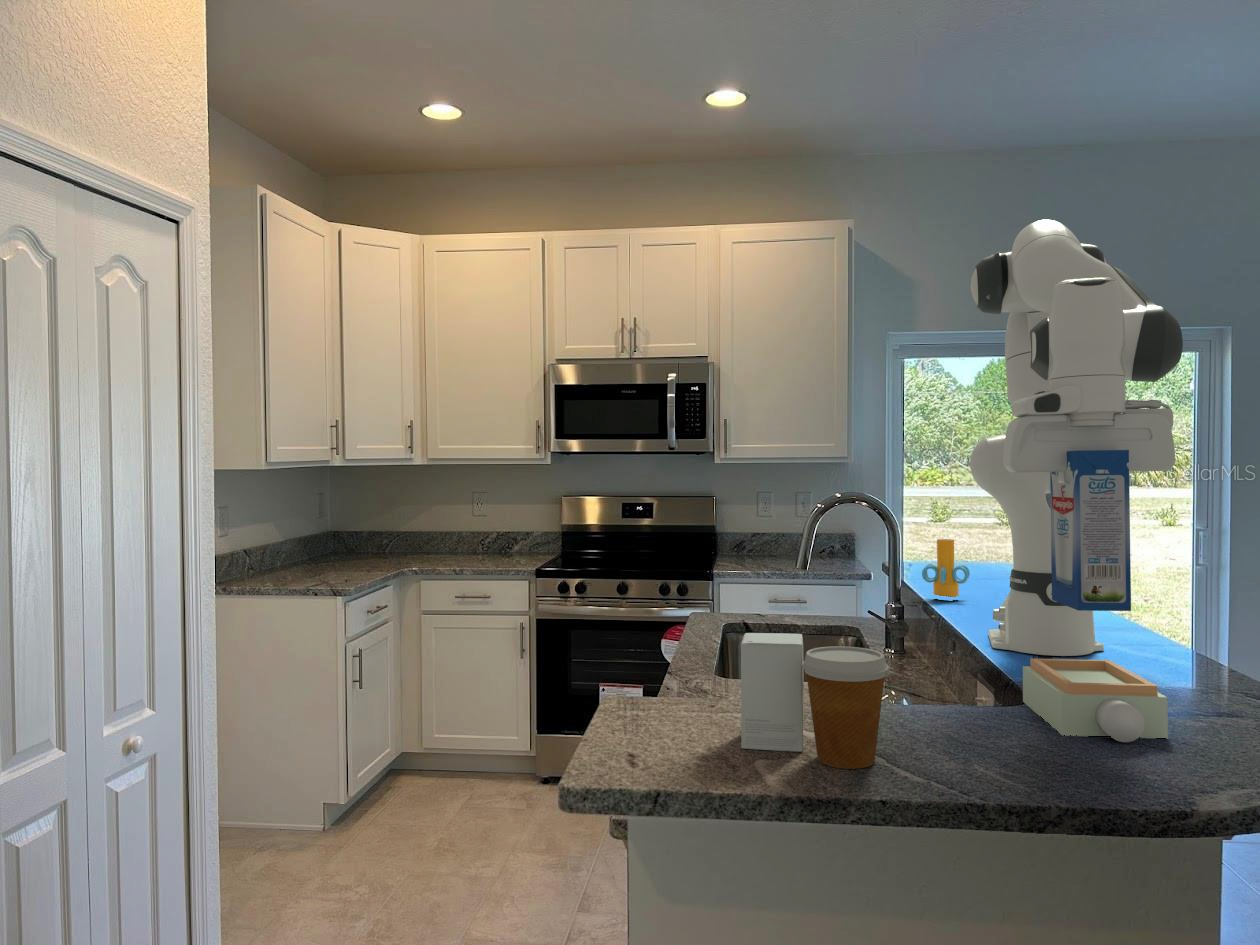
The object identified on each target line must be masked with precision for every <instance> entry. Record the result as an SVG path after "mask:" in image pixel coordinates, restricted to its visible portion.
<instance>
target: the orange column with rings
mask: <svg viewBox="0 0 1260 945" xmlns="http://www.w3.org/2000/svg"><path fill="white" fill-rule="evenodd" d="M930 569H932V570H933V571H934V577H931V576H929V573H928V570H930ZM959 570H961V571H962V572H963V574H964V577H963V578H959V577H958V576H957V571H959ZM970 574H971V573H970V569H969V567H967V566H966V565H964V564H958V565H957V566H955V540H954V539H950V538H939V539H938V538H937V539H936V564H934V563H928V564H926V566H924V567H923V569H922V572H921V577H922V579H923V580H924V582H927V583H932V587H933V589H932V592H933V593H932V594H935V595H939V596H946V597H947V596H948V597H956V596H959V597H960V592H959V591H960V590H959V589H960V585H961V584H965V583H966V582H967V581H968V579H969V577H970ZM959 584H960V585H959Z"/></svg>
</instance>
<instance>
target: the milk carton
mask: <svg viewBox="0 0 1260 945" xmlns="http://www.w3.org/2000/svg"><path fill="white" fill-rule="evenodd" d="M1049 494H1050V509H1051V565H1052V600H1054V601H1056V602H1058V603H1061V604H1063V605H1066V606H1068V607H1071V608H1073V609H1075V610H1078V611H1093V612H1098V611H1099V612H1100V611H1101V612H1103V611H1104V612H1132V587H1131V586H1132V584H1131V582H1132V578H1131V577H1132V576H1131V575H1132V574H1131V573H1132V572H1131V567H1132V566H1131V515H1130V514H1131V512H1130V511H1131V509H1130V508H1131V506H1130V505H1131V504H1130V502H1131V501H1130V500H1131V499H1130V496H1131V495H1130V471H1129V450H1085V451H1067V471H1066V472H1065V483H1059V481H1058V472H1050V493H1049Z"/></svg>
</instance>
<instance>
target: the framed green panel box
mask: <svg viewBox="0 0 1260 945" xmlns="http://www.w3.org/2000/svg"><path fill="white" fill-rule="evenodd" d="M1158 690H1159V689H1158V685H1156V684H1154V683H1153V682H1151V681H1149V680H1147V679H1145V678H1143V677H1142V676H1140V675H1138V674H1136V673H1134V672H1133V671H1130V670H1129V669H1126V668H1124V667H1123V666H1121V665H1119V664H1117V663H1116V662H1114V661H1112V660H1109V659H1081V658H1080V659H1079V658H1078V659H1073V658H1071V659H1070V658H1067V659H1066V658H1030V665H1028V666H1027V665H1026V666H1025V665H1022V702H1023V703H1024V704H1025V705H1026V706H1027V707H1028V708H1030V709H1031V710H1032V712H1034V713H1035V714H1037V716H1039V717H1040V716H1041V717H1042V718H1043V719H1044V720H1043V719H1042V718H1041V717H1040V718H1041V719H1042V720H1043V721H1045V722H1046V723H1047V722H1048V723H1049V724H1050V725H1051V726H1050V725H1049V724H1048V723H1047V724H1048V725H1049V726H1050V727H1052V729H1054V728H1055V729H1056V730H1057V731H1058V732H1057V731H1056V730H1055V729H1054V730H1055V731H1056V732H1057V733H1058V734H1060V735H1061V736H1062V737H1088V736H1111V737H1110V738H1112V739H1114V740H1115V741H1117V742H1120V743H1131V742H1134V741H1136V740H1137V739H1156V738H1166V739H1165V740H1168V739H1169V738H1168V737H1169V734H1168V733H1169V729H1168V728H1169V725H1168V722H1169V721H1168V719H1169V717H1168V710H1169V709H1168V696H1166V695H1164V694H1162V693H1161V692H1159V691H1158ZM1064 735H1065V736H1064ZM1070 735H1071V736H1070ZM1076 735H1077V736H1076ZM1139 737H1140V738H1139Z"/></svg>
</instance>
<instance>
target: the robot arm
mask: <svg viewBox="0 0 1260 945" xmlns="http://www.w3.org/2000/svg"><path fill="white" fill-rule="evenodd" d="M970 292H971V295H972V299H973V300H974V303H975V304H976V306H977V309H978V310H979V311H980V312H982V313H985V314H990V315H1001V313H1009V315H1008V317H1007V322H1006V327H1005V328H1006V329H1005V337H1004V338H1005V340H1004V358H1005V376H1006V377H1005V379H1006V387H1007V388H1006V389H1007V399H1008V401H1009V403H1010V405H1011V414H1012V416H1014V417H1015V418H1014V419H1012V420H1011V421H1010V422H1009V423H1008V426H1007V428H1006V431H1005V433H1002V434H1001V433H1000V434H996V435H991V436H987V437H983V438H982V439H980V440H979V441H978V442H977V443H976V445H975V446H974V448H973V450H972V452H971V456H970V462H969V466H970V467H969V468H970V472H971V475H972V478H973V480H974V482H976V484H977V485H978V486H979V487H980V488H981V489H982V490H983V491H985V492H987V494H988V495H990V496H992V497H993V499H995V501H997V503H998V504H999V506H1000V507H1001V508H1002V510H1003V512H1004V513H1005V516H1006V518H1007V520H1008V524H1009V527H1010V533H1011V541H1012V542H1011V543H1012V556H1013V557H1012V558H1013V559H1012V560H1013V561H1012V562H1013V565H1012V566H1013V568H1011V570H1010V576H1009V586H1008V587H1009V588H1010V590H1009V592H1008V594H1007V596H1006V598H1005V599H1004V601H1003V603H1002V604H1001V606H999V607H998V608H994V609H992V621H994V622H998V628H993V629H988V634H989V635H988V638H989V642H990V645H991V647H992V648H993V649H997V650H1004V651H1005V650H1008V651H1013V652H1018V653H1023V654H1025V653H1026V654H1031V655H1040V656H1057V657H1059V656H1061V657H1069V656H1070V657H1073V656H1075V657H1076V656H1085V655H1089V654H1092V653H1094V652H1100V651H1104V650H1105V648H1104V647H1105V646H1104V644H1103V643H1101V642H1098V641H1096V631H1095V618H1094V611H1078V610H1075V609H1073V608H1071V607H1068V606H1066V605H1063V604H1061V603H1058V602H1056V601H1054V600H1052V565H1051V507H1050V506H1049V504H1048V502H1047V496H1046V494H1051V493H1050V472H1058V481H1059V483H1065V472H1066V471H1067V451H1085V450H1129V472H1168V471H1171V469H1172V468H1173V467H1174V466H1175V465H1176V450H1175V441H1174V436H1173V435H1174V434H1173V431H1172V430H1173V428H1174V411H1173V410H1172V408H1171V406H1169V405H1168V404H1166V403H1163V402H1162V401H1161V400H1158V399H1149V400H1140V399H1139V400H1136V399H1131V400H1130V399H1126V398H1127V397H1126V381H1131V382H1146V383H1156V382H1158V380H1160V379H1162V378H1164V377H1165V376H1166V375H1168V374H1169V373H1170V372H1172V371H1173V369H1175V367H1176V366H1178V364H1179V363H1180V361H1181V358H1182V354H1183V344H1184V343H1183V333H1182V329H1181V325H1180V323H1179V321H1178V320H1177V318H1176V317H1175V316H1174V314H1173V315H1172V313H1170V311H1168V310H1167V309H1165V308H1164V307H1163V306H1160V305H1156V304H1155V303H1154V302H1153V300H1152V299H1151V298H1150V297H1149V296H1147V294H1146V293H1145V292H1144V291H1143V290H1142V289H1141V287H1139V286H1138V285H1137V284H1136V283H1135V282H1134V281H1133V279H1132V278H1131V277H1130V276H1129V275H1128V274H1127V273H1125V272H1124V271H1123V269H1120V268H1119V267H1115V266H1114V265H1112V264H1108V263H1107V261H1106V258H1105V255H1104V253H1103V250H1101V248H1099V246H1097V245H1093V244H1087V243H1081V242H1080V241H1079V239H1078V237H1077V236H1076V235H1075V234H1074V233H1073V232H1072V231H1071V229H1069V228H1068V227H1067V226H1066V225H1064V224H1063V223H1061V222H1059V221H1057V220H1052V219H1041V220H1037V221H1034V222H1031V223H1029V224H1028V225H1026V226H1025V227H1024V228H1023V229H1021V230H1020V231H1019V233H1018V234H1017V235H1016V237H1015V238H1014V241H1013V245H1012V248H1011V251H1008V252H1001V253H1000V251H998V252H996V253H995V254H992V255H988V256H987V257H984V258H983V259H981V260H980V261H979V262H978V263H977V264H976V265H975V269H974V271H973V273H972V276H971V279H970Z"/></svg>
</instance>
